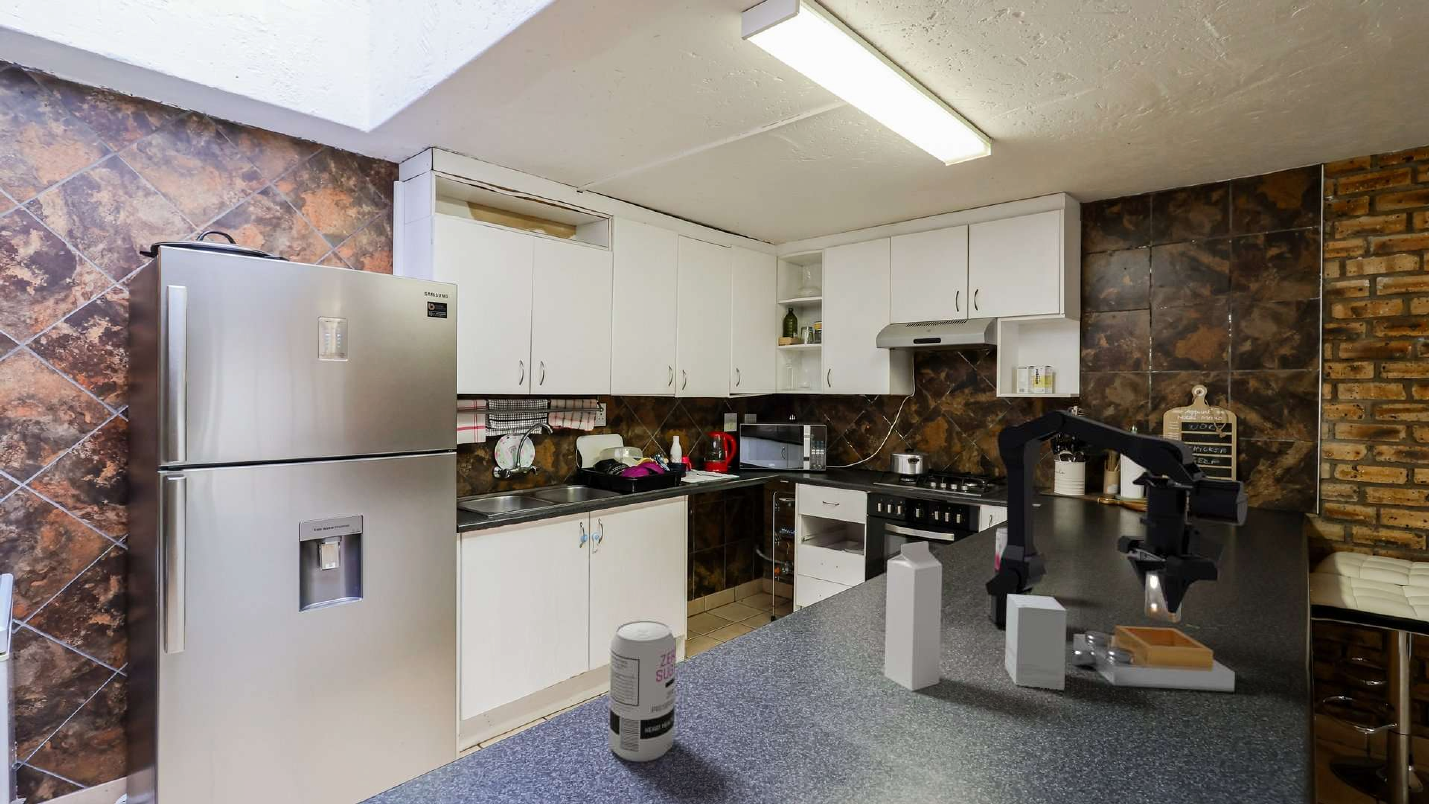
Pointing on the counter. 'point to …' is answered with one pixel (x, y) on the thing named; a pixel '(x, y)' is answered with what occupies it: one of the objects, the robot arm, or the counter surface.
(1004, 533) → the beverage can
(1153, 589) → the spout can
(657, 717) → the supplement can
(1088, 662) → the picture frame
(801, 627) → the counter surface
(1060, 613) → the supplement box
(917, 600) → the milk
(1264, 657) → the counter surface
